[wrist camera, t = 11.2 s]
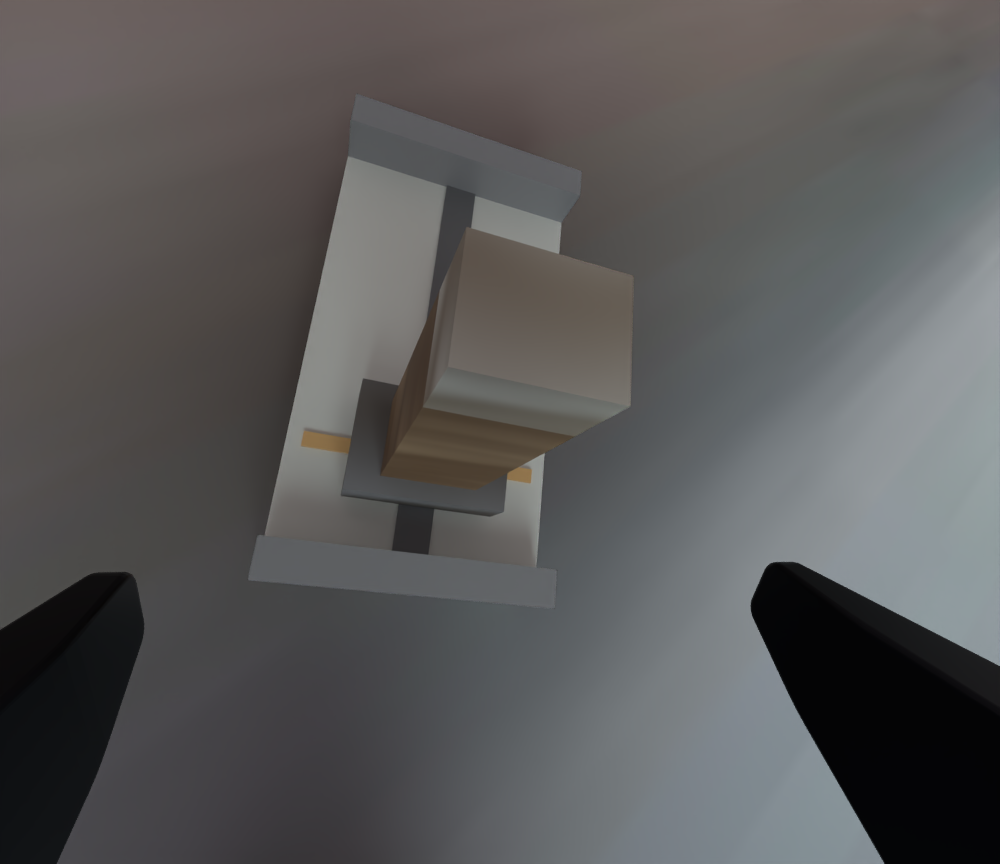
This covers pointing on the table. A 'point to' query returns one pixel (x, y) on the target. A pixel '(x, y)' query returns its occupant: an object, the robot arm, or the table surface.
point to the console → (405, 364)
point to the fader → (494, 377)
